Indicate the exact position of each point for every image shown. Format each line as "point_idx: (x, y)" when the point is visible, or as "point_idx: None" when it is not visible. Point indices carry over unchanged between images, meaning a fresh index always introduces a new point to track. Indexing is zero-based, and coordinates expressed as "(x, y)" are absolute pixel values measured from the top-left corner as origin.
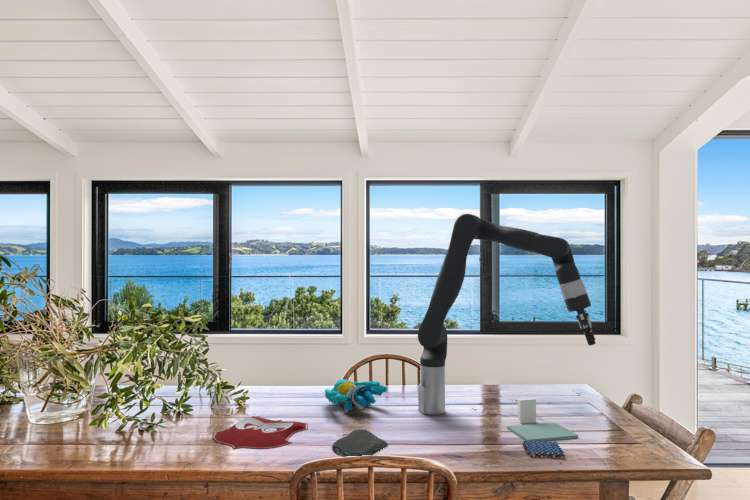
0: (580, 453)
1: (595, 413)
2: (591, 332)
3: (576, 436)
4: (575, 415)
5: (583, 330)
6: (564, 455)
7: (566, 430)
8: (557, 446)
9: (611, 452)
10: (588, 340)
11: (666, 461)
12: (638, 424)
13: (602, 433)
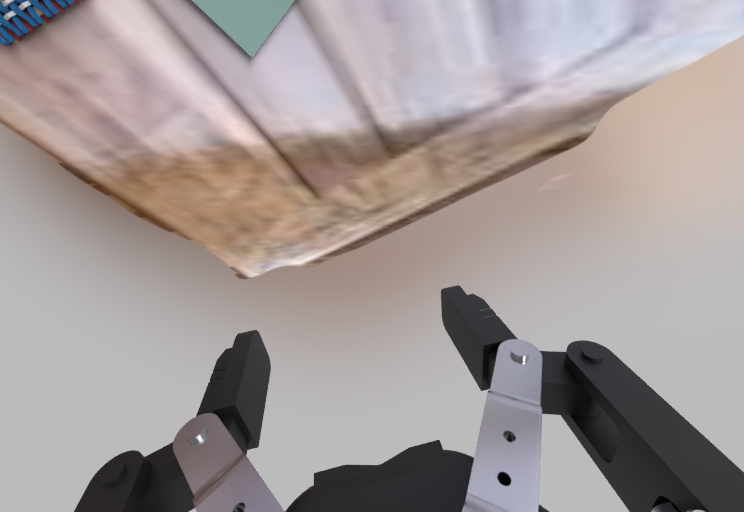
0: (115, 85)
1: (521, 71)
2: (469, 364)
3: (246, 50)
4: (488, 4)
5: (91, 498)
6: (10, 44)
7: (273, 4)
8: (46, 4)
9: (204, 156)
10: (212, 375)
11: (241, 242)
12: (449, 180)
13: (339, 117)
